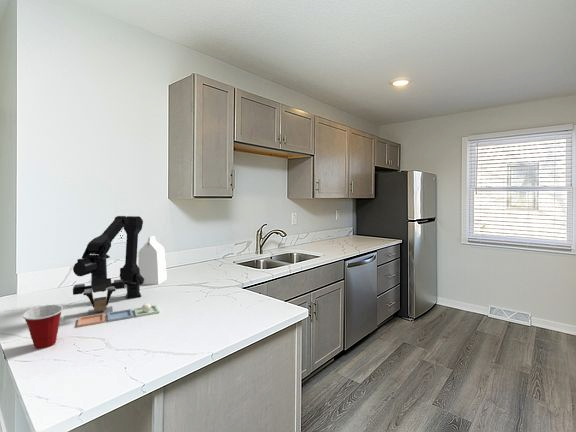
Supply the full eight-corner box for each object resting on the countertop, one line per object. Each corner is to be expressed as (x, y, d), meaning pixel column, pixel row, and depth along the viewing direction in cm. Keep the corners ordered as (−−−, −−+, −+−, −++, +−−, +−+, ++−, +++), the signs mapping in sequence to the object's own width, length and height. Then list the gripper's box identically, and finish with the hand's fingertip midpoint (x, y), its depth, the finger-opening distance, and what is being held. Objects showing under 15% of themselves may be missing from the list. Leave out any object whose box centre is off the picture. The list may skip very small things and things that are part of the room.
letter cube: (94, 308, 138) (94, 298, 138) (106, 306, 140) (106, 296, 140) (94, 311, 134) (93, 301, 134) (106, 309, 137) (106, 299, 136)
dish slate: (107, 315, 134) (107, 312, 134) (131, 311, 138) (131, 308, 138) (107, 323, 126) (107, 320, 126) (133, 318, 131) (133, 315, 131)
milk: (158, 284, 180) (157, 238, 178) (138, 284, 180) (136, 238, 178) (166, 278, 192) (165, 235, 190) (147, 278, 192) (146, 235, 190)
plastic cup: (20, 356, 101) (17, 318, 100) (28, 341, 110) (26, 307, 109) (62, 348, 106) (60, 312, 105) (67, 335, 115) (65, 302, 114)
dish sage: (134, 311, 139) (133, 308, 139) (156, 307, 143) (156, 304, 143) (135, 318, 131) (135, 315, 131) (159, 314, 136) (159, 311, 136)
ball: (141, 311, 138) (141, 303, 138) (150, 309, 140) (150, 301, 139) (142, 313, 135) (142, 305, 135) (151, 312, 137) (151, 304, 136)
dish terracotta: (78, 320, 129) (78, 317, 129) (104, 315, 133) (104, 313, 133) (77, 328, 121) (77, 325, 121) (104, 323, 126) (104, 320, 126)
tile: (88, 310, 139) (88, 310, 139) (112, 307, 144) (112, 306, 144) (87, 317, 131) (87, 316, 131) (112, 313, 136) (112, 312, 136)
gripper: (70, 277, 125) (72, 316, 126) (124, 271, 134) (126, 308, 135) (73, 271, 134) (74, 308, 135) (123, 266, 143) (124, 300, 145)
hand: (100, 306), depth 137 cm, fingers closed on letter cube, 4 cm apart
